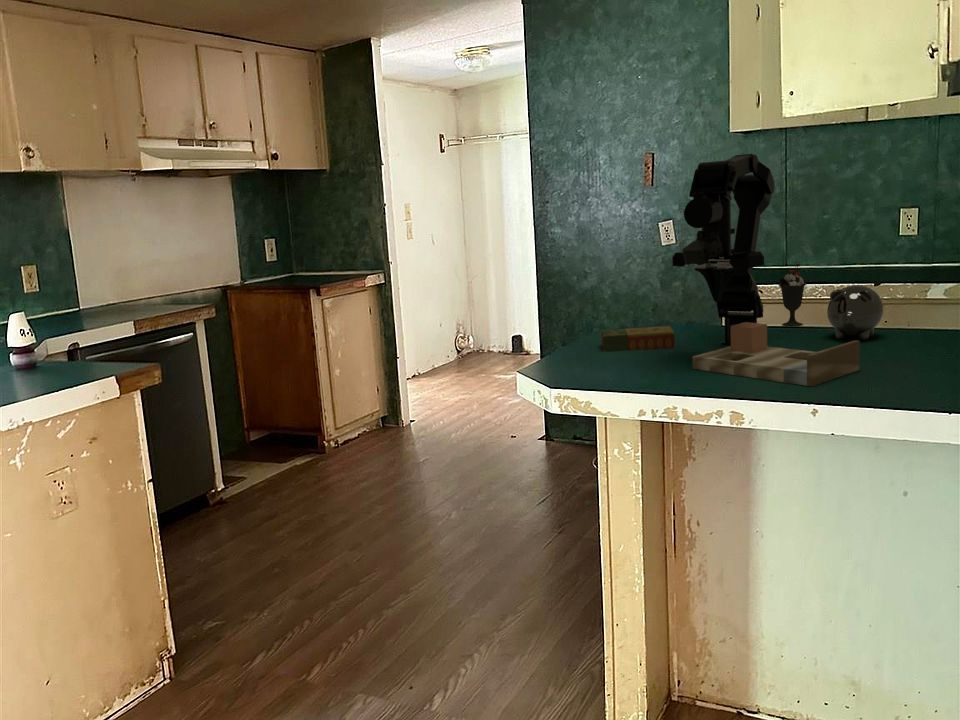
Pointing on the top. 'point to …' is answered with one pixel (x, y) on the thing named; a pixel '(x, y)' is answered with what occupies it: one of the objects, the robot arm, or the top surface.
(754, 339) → the block
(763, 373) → the brown wooden compartment tray
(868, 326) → the piggy bank
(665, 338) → the carton
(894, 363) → the top surface
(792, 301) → the sundae
